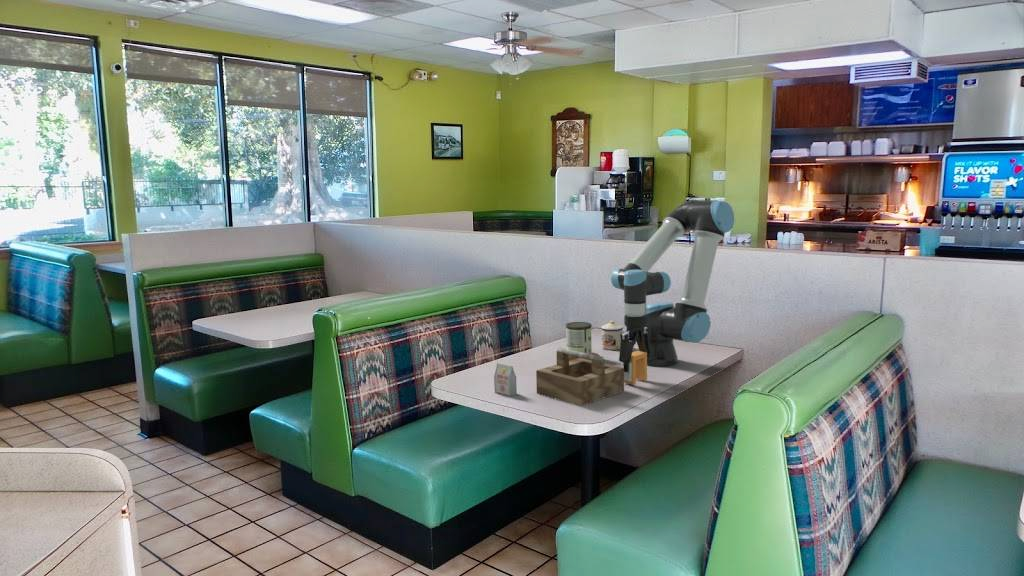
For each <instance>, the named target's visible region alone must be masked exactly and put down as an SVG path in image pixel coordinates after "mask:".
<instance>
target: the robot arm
mask: <svg viewBox="0 0 1024 576" xmlns="http://www.w3.org/2000/svg"><path fill="white" fill-rule="evenodd" d="M734 225H735V212H734V210H733V207H732V206H731V204H729V202H727V201H725V200H718V199H713V200H707V199H706V200H703V199H702V200H697V199H693V200H692V199H691V200H688V201H684V203H683V202H682V203H681V204H679V205H678V206H676V207H674V209H672V210H671V212H669V213H668V214H667V215H666V216H665V218H664V219H663V220H662V225H661V226H660V227H659V228H658V229H657V230H656V232H654V234H653V235H652V236H651V237H650V238H649V239H648V240H647V242H646V243H645V244H644V245H643V246H642V247H641V248H640V250H638V252H637V253H636V254H635V255H634V256H633V257H632V259H631V260H630V261H629V262H628V263H627V265H625V267H624V268H617V269H615V270H613V272H612V273H611V276H610V281H611V282H610V283H611V285H612V287H614V288H615V289H618V290H622V291H624V292H623V294H624V295H623V297H624V298H623V299H624V300H623V302H624V303H623V305H624V307H623V308H624V312H623V313H624V314H625V315H624V317H623V319H624V320H623V321H624V323H623V324H624V326H625V327H626V331H625V333H624V334H623V333H621V335H620V336H621V345H620V349H619V355H618V357H619V358H618V361H619V362H620V363H621V362H622V363H623V367H622V368H624V380H626V381H632V370H631V363H630V359H631V355H632V352H634V351H633V350H634V347H635V345H637V347H638V351H642V352H647V366H653V367H666V366H667V367H669V366H673V365H676V364H677V363H678V360H679V359H678V355H677V354H678V353H677V352H676V351H677V350H676V347H675V345H674V340H676V341H677V340H678V341H683V342H686V343H693V344H695V343H696V344H697V343H700V342H701V341H702V340H703V339H705V338H706V337H707V335H708V334H709V332H710V329H711V323H712V322H711V321H710V320H711V317H710V316H709V314H708V313H707V311H708V308H707V307H706V305H705V302H706V297H707V293H708V288H709V285H710V279H711V275H712V273H713V272H712V270H713V267H714V262H715V258H716V253H717V249H718V245H719V243H720V242H721V241H722V240H724V238H725V233H729V232H730V231H731V230H732V229H733V228H734ZM691 231H692V234H693V237H694V241H693V247H692V250H691V255H690V259H689V262H688V268H687V272H686V275H685V280H684V285H683V289H682V293H681V298H680V299H679V300H677V301H675V305H674V303H673V302H655V303H654V302H653V303H648V304H647V297H648V296H651V295H657V294H658V295H659V294H662V293H665V292H667V291H669V290H670V288H671V284H672V282H671V281H672V280H671V278H670V275H669V274H668V273H667V272H664V271H655V272H653V271H652V272H651V269H652V268H653V267H654V265H655V264H656V263H657V262H658V261H659V260H660V259H661V258H662V256H663V255H664V254H665V252H667V250H668V249H669V248H670V247H671V246H672V245H673V244H674V242H675V241H677V239H678V238H681V237H683V236H684V235H685V234H686V233H687V232H691Z"/></svg>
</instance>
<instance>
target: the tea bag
mask: <svg viewBox="0 0 1024 576" xmlns="http://www.w3.org/2000/svg"><path fill="white" fill-rule="evenodd" d="M493 379H494V380H493V381H494V383H493V384H494V386H493V387H494V393H495V394H498V395H502V396H507V397H511V396H514V395H516V394H517V375H516V372H515V371H514V368H513V365H508V364H504V363H498V362H497V363H496V368H495V372H494V375H493ZM517 395H518V394H517Z"/></svg>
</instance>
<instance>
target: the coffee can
mask: <svg viewBox="0 0 1024 576" xmlns="http://www.w3.org/2000/svg"><path fill="white" fill-rule="evenodd" d="M565 339H566V341H565V343H566V348H565V349H569V350H574V351H579V352H583V353H589V352H592V350H593V349H592V323H590V322H587V321H572V322H568V323H565Z"/></svg>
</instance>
